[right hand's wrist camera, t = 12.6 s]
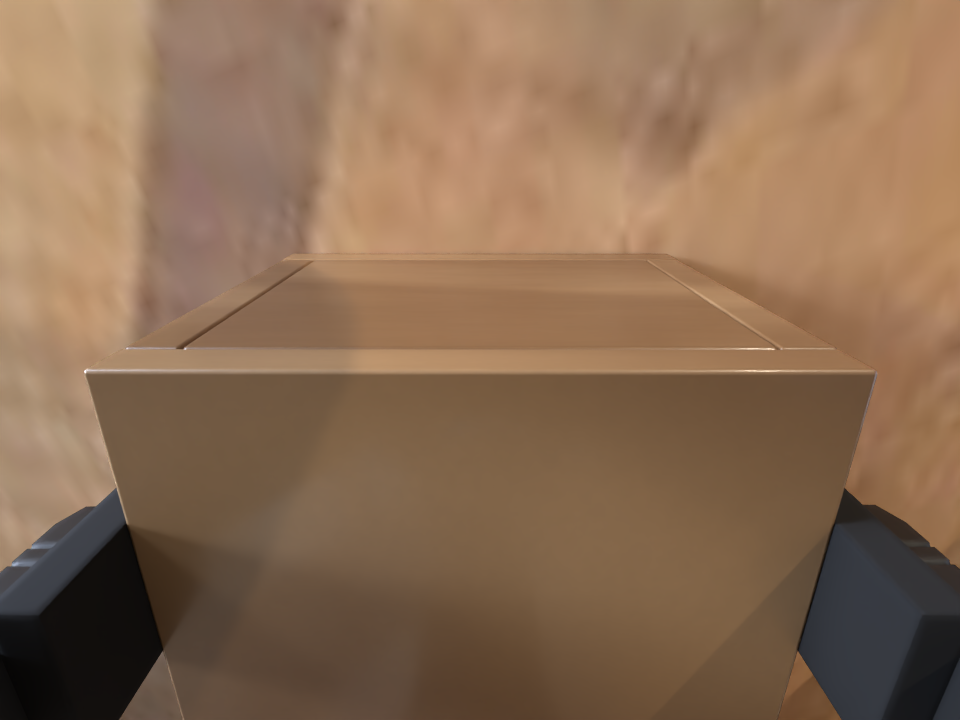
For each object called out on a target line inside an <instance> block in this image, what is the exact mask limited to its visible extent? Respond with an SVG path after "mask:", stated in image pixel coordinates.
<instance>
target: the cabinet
mask: <svg viewBox="0 0 960 720" xmlns="http://www.w3.org/2000/svg"><path fill="white" fill-rule="evenodd" d="M84 376H85V380H86V383H87V387H88V390H89V394H90V397H91V401H92V404H93V408H94V411H95V415H96V418H97V422H98V425H99V429H100V432H101V436H102V439H103V443H104V446H105V450H106V453H107V457H108V460H109V464H110V467H111V471H112V474H113V478H114V481H115V485H116V488H117V491H118V495H119V498H120V502H121V505H122V509H123V512H124V516H125V519H126V523H127V526H128V530H129V533H130V537H131V540H132V544H133V547H134V551H135V554H136V558H137V561H138V565H139V568H140V572H141V575H142V579H143V582H144V586H145V589H146V593H147V596H148V600H149V603H150V607H151V610H152V614H153V617H154V621H155V624H156V628H157V631H158V635H159V638H160V642H161V645H162V649H163V652H164V656H165V659H166V662H167V666H168V669H169V673H170V676H171V680H172V683H173V687H174V690H175V694H176V697H177V701H178V704H179V708H180V711H181V715H182V718H183V720H778V716H779V713H780V709H781V706H782V702H783V699H784V695H785V692H786V689H787V685H788V682H789V678H790V675H791V671H792V668H793V664H794V661H795V657H796V654H797V650H798V647H799V644H800V640H801V637H802V633H803V630H804V626H805V623H806V619H807V616H808V612H809V609H810V605H811V602H812V599H813V595H814V592H815V588H816V585H817V581H818V578H819V574H820V571H821V567H822V564H823V561H824V557H825V554H826V550H827V547H828V543H829V540H830V536H831V533H832V529H833V526H834V522H835V519H836V516H837V512H838V509H839V505H840V502H841V498H842V495H843V491H844V488H845V484H846V481H847V478H848V474H849V471H850V467H851V464H852V460H853V457H854V453H855V450H856V446H857V443H858V439H859V436H860V433H861V429H862V426H863V422H864V419H865V415H866V412H867V408H868V405H869V401H870V398H871V394H872V391H873V388H874V384H875V381H876V377H877V371H876V370H875V369H873V368H871V367H870V366H868V365H866V364H864V363H862V362H861V361H859V360H857V359H855V358H853V357H851V356H850V355H848V354H846V353H844V352H842V351H840V350H837V349H836V347H834V346H832V345H830V344H828V343H827V342H825V341H823V340H821V339H819V338H817V337H816V336H814V335H812V334H810V333H808V332H807V331H805V330H803V329H801V328H799V327H798V326H796V325H794V324H792V323H790V322H788V321H787V320H785V319H783V318H781V317H779V316H778V315H776V314H774V313H772V312H770V311H769V310H767V309H765V308H763V307H761V306H760V305H758V304H756V303H754V302H752V301H750V300H749V299H747V298H745V297H743V296H741V295H740V294H738V293H736V292H734V291H732V290H731V289H729V288H727V287H725V286H723V285H722V284H720V283H718V282H716V281H714V280H712V279H711V278H709V277H707V276H705V275H703V274H702V273H700V272H698V271H696V270H694V269H693V268H691V267H689V266H687V265H685V264H683V263H682V262H680V261H678V260H677V259H675V258H673V257H671V256H670V255H668V254H292V255H290V256H289V257H287V258H285V259H283V261H281V262H279V263H277V264H275V265H274V266H272V267H270V268H268V269H266V270H265V271H263V272H261V273H259V274H257V275H256V276H254V277H252V278H250V279H248V280H247V281H245V282H243V283H241V284H239V285H238V286H236V287H234V288H232V289H230V290H229V291H227V292H225V293H223V294H221V295H220V296H218V297H216V298H214V299H212V300H210V301H209V302H207V303H205V304H203V305H201V306H200V307H198V308H196V309H194V310H192V311H191V312H189V313H187V314H185V315H183V316H182V317H180V318H178V319H176V320H174V321H173V322H171V323H169V324H167V325H165V326H164V327H162V328H160V329H158V330H156V331H155V332H153V333H151V334H149V335H147V336H146V337H144V338H142V339H140V340H138V341H136V342H135V343H133V344H131V345H129V346H127V347H126V348H125V349H122V350H120V351H118V352H116V353H114V354H112V355H110V356H109V357H107V358H105V359H103V360H101V361H100V362H98V363H96V364H94V365H92V366H90V367H89V368H87V369H85V371H84Z"/></svg>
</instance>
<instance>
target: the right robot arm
mask: <svg viewBox="0 0 960 720" xmlns="http://www.w3.org/2000/svg"><path fill="white" fill-rule="evenodd" d="M929 544H930V543H929V542H928V541H927V540H926V539H924V538H923V537H922V536H921V535H920V534H919V533H918V532H916V531H915V530H914V529H913V528H912V527H911V526H910V525H908V524H907V523H906V522H904V521H903V520H901V519H899V518H897V517H896V516H894V515H892V514H890V513H888V512H887V511H885V510H883V509H881V508H880V507H878V506H876V505H862V504H861V503H860V502H859V501H858V500H857V499H856V498H855V497H854V496H853V495H851V494H850V493H849V492H848V491H847V490H846V489H845V488H844V491H843V495H842V498H841V502H840V505H839V509H838V512H837V516H836V519H835V522H834V526H833V529H832V533H831V536H830V540H829V543H828V547H827V550H826V554H825V557H824V561H823V564H822V567H821V571H820V574H819V578H818V581H817V585H816V588H815V592H814V595H813V599H812V602H811V605H810V609H809V612H808V616H807V619H806V623H805V626H804V630H803V633H802V637H801V640H800V644H799V647H798V652H799V653H800V655H801V656H802V658H803V659H804V661H805V663H806V664H807V666H808V667H809V669H810V670H811V672H812V674H813V675H814V677H815V678H816V680H817V681H818V683H819V685H820V686H821V688H822V689H823V691H824V692H825V694H826V696H827V697H828V699H829V700H830V702H831V703H832V705H833V707H834V708H835V710H836V711H837V713H838V714H839V716H840V718H841V719H842V720H960V569H959V568H958V567H956V566H955V565H951V564H950V563H949V560H948V559H947V558H946V557H945V556H944V555H943V554H942V553H940V552H939V551H938V550H937V549H936V548H935V547H930V545H929ZM162 651H163V649H162V645H161V642H160V638H159V635H158V631H157V628H156V624H155V621H154V617H153V614H152V610H151V607H150V603H149V600H148V596H147V593H146V589H145V586H144V582H143V579H142V575H141V572H140V568H139V565H138V561H137V558H136V554H135V551H134V547H133V544H132V540H131V537H130V533H129V530H128V526H127V523H126V519H125V516H124V512H123V509H122V505H121V502H120V498H119V495H118V491H117V488H116V489H115V490H114V491H112V492H111V493H110V494H109V495H108V496H107V497H106V498H105V499H104V500H103V501H102V502H101V503H99V504H98V505H97V506H96V507H85V508H83V509H81V510H79V511H78V512H76V513H74V514H72V515H71V516H69V517H67V518H65V519H64V520H62V521H60V522H58V523H57V524H55V525H54V526H53V527H52V528H50V529H49V530H48V531H47V532H46V533H45V534H44V535H43V536H41V537H40V538H39V539H38V540H37V541H36V542H35V543H33V544H32V548H31V549H27V550H25V551H24V552H23V553H22V554H21V555H20V556H19V557H17V558H16V559H15V560H14V561H13V562H12V566H11V567H6V568H5V569H4V570H3V571H2V572H0V720H119V719H120V717H121V715H122V714H123V712H124V711H125V709H126V708H127V706H128V704H129V703H130V701H131V700H132V698H133V697H134V695H135V693H136V692H137V690H138V689H139V687H140V686H141V684H142V682H143V681H144V679H145V678H146V676H147V674H148V673H149V671H150V670H151V668H152V667H153V665H154V663H155V662H156V660H157V659H158V657H159V656H160V654H161V652H162Z"/></svg>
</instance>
